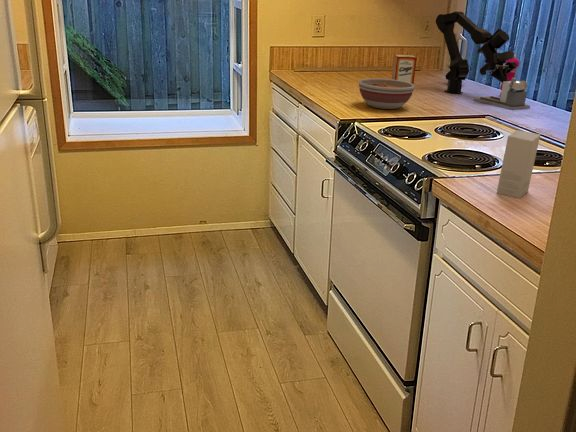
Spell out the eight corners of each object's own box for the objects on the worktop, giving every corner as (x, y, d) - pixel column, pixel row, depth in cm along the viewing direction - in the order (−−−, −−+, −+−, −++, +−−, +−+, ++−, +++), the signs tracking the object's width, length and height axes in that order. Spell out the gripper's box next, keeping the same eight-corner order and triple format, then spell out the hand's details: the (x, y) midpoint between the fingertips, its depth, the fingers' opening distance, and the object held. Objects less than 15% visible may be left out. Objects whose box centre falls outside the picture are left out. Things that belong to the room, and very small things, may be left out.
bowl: (377, 114, 246) (380, 88, 242) (346, 102, 264) (348, 79, 261) (422, 111, 256) (426, 86, 252) (389, 100, 275) (392, 77, 271)
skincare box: (505, 185, 167) (515, 129, 162) (530, 191, 164) (542, 134, 158) (495, 193, 161) (506, 134, 155) (521, 199, 157) (533, 139, 152)
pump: (499, 101, 277) (504, 76, 273) (507, 101, 280) (512, 76, 276) (507, 103, 274) (511, 78, 270) (515, 102, 277) (519, 77, 272)
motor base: (473, 100, 285) (477, 74, 281) (490, 98, 291) (495, 73, 287) (511, 110, 268) (516, 83, 264) (529, 108, 274) (534, 81, 270)
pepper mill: (515, 99, 295) (523, 56, 287) (499, 97, 296) (507, 54, 288) (513, 96, 301) (521, 54, 294) (497, 95, 302) (505, 53, 295)
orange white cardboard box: (393, 89, 303) (397, 55, 297) (391, 86, 309) (394, 53, 303) (412, 90, 303) (416, 56, 298) (409, 87, 310) (413, 54, 304)
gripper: (489, 44, 269) (505, 73, 264) (517, 43, 278) (533, 72, 274) (472, 59, 278) (487, 89, 273) (500, 58, 287) (515, 87, 283)
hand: (506, 84), depth 276 cm, fingers closed, pressing on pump
